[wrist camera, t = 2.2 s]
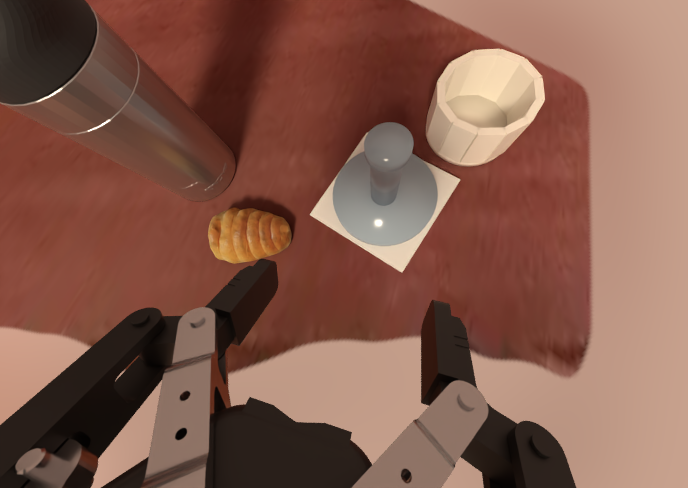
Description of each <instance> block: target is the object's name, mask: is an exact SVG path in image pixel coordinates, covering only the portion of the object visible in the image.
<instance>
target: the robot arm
mask: <svg viewBox="0 0 688 488" xmlns="http://www.w3.org/2000/svg"><path fill="white" fill-rule="evenodd" d="M0 103H1V104H3V105H5V106H7V107H9V108H11V109H13V110H15V111H17V112H19V113H21V114H22V115H24V116H26V117H28V118H30V119H32V120H34V121H36V122H38V123H40V124H42V125H44V126H46V127H48V128H50V129H52V130H54V131H56V132H58V133H60V134H62V135H64V136H66V137H68V138H70V139H72V140H73V141H75V142H77V143H79V144H81V145H83V146H85V147H87V148H89V149H91V150H93V151H95V152H97V153H99V154H101V155H103V156H104V157H106V158H108V159H110V160H112V161H114V162H116V163H118V164H120V165H122V166H124V167H126V168H128V169H130V170H132V171H134V172H136V173H137V174H139V175H141V176H143V177H145V178H147V179H149V180H151V181H153V182H155V183H157V184H159V185H161V186H162V187H164V188H166V189H168V190H170V191H172V192H174V193H176V194H178V195H180V196H182V197H184V198H186V199H189V200H191V201H206V200H209V199H212V198H214V197H216V196H218V195H219V194H220V193H222V192H223V191H224V190H225V189H226V188H227V187H228V185H229V184H230V182H231V180H232V178H233V176H234V173H235V167H236V164H235V157H234V154H233V152H232V151H231V149H230V148H229V147H228V146H227V145H226V144H225V143H224V142H223V141H222V140H221V139H220V138H219V137H218V136H217V135H216V134H215V133H214V131H213V130H212V129H211V128H210V127H209V126H208V125H207V124H206V123H205V122H204V121H203V120H202V119H201V118H200V117H199V116H198V115H197V114H196V113H195V112H194V111H193V110H192V109H191V108H190V107H189V106H188V105H187V104H186V103H185V102H184V101H183V100H182V99H181V98H180V97H179V96H178V95H177V94H176V93H175V92H174V91H173V89H172V88H171V87H170V86H169V85H168V84H167V83H166V82H165V81H164V80H163V79H162V78H161V77H160V76H159V75H158V74H157V73H156V72H155V71H154V70H153V69H152V68H151V67H150V66H149V65H148V64H147V63H146V62H145V61H144V60H143V59H142V58H141V57H140V56H139V55H138V54H137V53H136V52H135V51H134V50H133V49H132V48H131V47H130V46H129V45H128V44H127V43H126V42H125V41H124V40H123V39H122V38H121V37H120V36H119V35H118V34H117V33H116V32H115V31H114V30H113V29H112V28H111V27H110V26H109V25H108V24H107V23H106V21H105V20H104V19H103V18H102V17H101V16H100V15H99V14H98V13H97V12H96V11H95V10H94V9H93V8H92V7H91V6H89V4H88V3H87V2H86V1H85V0H0ZM277 288H278V276H277V265H276V262H274V261H270V260H266V259H260V260H258V262H257V263H256V264H255V265H254V266H248V267H246V268H244V269H243V270H241V271H239V272H238V273H237V275H236V276H235V277H234V278H233V279H232V280H231V281H230V282H229V283H228V285H226V286H225V287H224V288H223V289H222V290H221V291H220V292H219V293H218V294H217V295H216V296H215V297H214V298H213V299H212V300H211V301H210V303H209V304H208V305H207V306H206V307H201V308H196V309H193V310H191V311H189V312H187V313H186V314H185V315H184V316H162V314H161V312H160V310H158V309H156V308H144V309H140V310H138V311H135V312H134V313H132V314H130V315H129V316H127V317H126V318H125V319H124V320H123V321H122V322H120V323H119V324H118V325H117V326H116V327H115V328H113V329H112V330H111V331H110V332H109V333H108V334H106V335H105V336H104V337H103V338H102V339H101V340H99V341H98V342H97V343H96V344H95V345H93V346H92V347H91V348H90V349H89V350H88V351H86V352H85V353H84V354H83V355H82V356H81V357H79V358H78V359H77V360H76V361H75V362H74V363H72V364H71V365H70V366H69V367H68V368H67V369H66V370H64V371H63V372H62V373H61V374H60V375H59V376H57V377H56V378H55V379H54V380H53V381H51V382H50V383H49V384H48V385H47V386H46V387H45V388H43V389H42V390H41V391H40V392H39V393H37V394H36V395H35V396H34V397H33V398H32V399H30V400H29V401H28V402H27V403H26V404H25V405H24V406H22V407H21V408H20V409H19V410H17V411H16V412H15V413H14V414H13V415H12V416H10V417H9V418H8V419H7V420H6V421H5V422H4V423H2V424H1V425H0V488H91V486H92V484H93V481H94V475H95V473H96V470H97V467H98V458H99V457H100V456H101V455H102V453H103V452H104V451H105V450H106V448H107V447H108V446H109V445H110V443H111V442H112V441H113V440H114V438H115V437H116V436H117V435H118V433H119V432H120V431H121V430H122V429H123V427H124V426H125V425H126V424H127V422H128V421H129V420H130V418H131V417H132V416H133V415H134V414H135V412H136V411H137V410H138V409H139V408H140V406H141V405H142V404H143V403H144V401H145V400H146V399H147V398H148V396H149V395H150V394H151V393H152V391H153V390H154V389H155V387H156V386H157V385H158V384H159V383H160V381H161V380H162V385H161V391H160V396H159V402H158V408H157V414H156V419H155V425H154V430H153V436H152V442H151V447H150V453H149V457H147V458H146V459H145V460H143V461H141V462H140V463H138V464H137V465H135V466H134V467H132V468H131V469H129V470H128V471H126V472H124V473H123V474H121V475H120V476H118V477H117V478H115V479H114V480H112V481H111V482H109V483H107V484H106V485H104V486H103V487H101V488H441V487H442V486H443V484H444V483H445V481H446V480H447V478H448V477H449V476H450V474H451V472H452V471H453V469H454V467H455V464H456V462H457V460H458V459H459V458H460V457H461V458H463V459H464V460H466V461H467V462H468V463H470V464H471V465H472V466H474V467H475V468H477V469H478V470H479V471H481V472H482V476H483V484H484V488H576V486H575V483H574V480H573V477H572V474H571V471H570V468H569V465H568V462H567V459H566V456H565V454H564V451H563V449H562V447H561V446H560V444H559V443H558V441H557V440H556V439H555V438H554V437H553V436H552V435H551V434H550V433H549V432H548V431H547V430H546V429H545V428H543V427H542V426H540V425H538V424H536V423H534V422H530V421H522V422H520V423H519V424H517V423H515V422H514V421H512V420H510V419H509V418H507V417H506V416H504V415H502V414H501V413H499V412H497V411H496V410H494V409H493V408H492V407H491V406H490V405H489V404H488V403H487V402H486V400H485V398H484V397H483V395H482V394H481V393H480V391H479V390H478V389H477V386H476V383H475V376H474V371H473V365H472V360H471V354H470V350H469V343H468V341H467V340H468V338H467V332H466V328H465V326H464V325H463V323H462V321H461V320H460V318H458V317H454V316H451V310H450V305H449V304H448V303H444V302H440V301H435V300H432V301H431V303H430V306H429V308H428V311H427V313H426V316H425V318H424V321H423V324H422V330H421V403H423V404H426V405H429V407H428V408H427V409H426V410H425V411H424V412H423V414H422V415H421V416H420V417H419V418H418V419H417V420H414V421H413V422H412V423H411V424H410V425H409V426H408V427H407V428H406V429H405V430H404V431H403V432H402V434H401V435H400V436H399V437H398V438H397V439H396V440H395V441H394V442H393V443H392V444H391V445H390V446H389V448H388V449H387V450H386V451H385V452H384V453H383V454H382V455H381V456H380V457H379V459H378V460H377V461H376V462H375V463H374V464H373V465H372V464H371V462H370V461H369V459H368V457H367V456H366V455H365V453H364V452H363V451H362V450H361V449H360V448H359V447H358V446H357V445H356V444H355V443H353V442H352V441H351V440H350V439H351V433H352V432H349V431H347V430H344V429H341V428H338V427H335V426H332V425H329V424H326V423H301V422H295V421H293V420H292V419H291V418H289V417H288V416H287V415H285V414H284V413H283V412H282V411H280V410H279V409H278V408H276V407H275V406H274V405H271V404H268V403H265V402H262V401H259V400H257V399H254V398H251V397H250V398H249V399H248V401H247V403H246V405H236V406H233V407H231V403H230V396H229V390H228V362H227V348H228V347H229V346H230V344H235V345H238V346H240V344H241V343H242V341H243V340H244V338H245V337H246V335H247V334H248V333H249V331H250V330H251V328H252V327H253V325H254V324H255V322H256V321H257V320H258V318H259V317H260V315H261V314H262V312H263V311H264V309H265V308H266V307H267V305H268V304H269V302H270V301H271V299H272V298H273V296H274V295H275V293H276V291H277ZM137 356H139V357H138V358H137V359H136V360H135V361H134V362H133V363H132V365H131V366H130V367H129V368H128V369H127V370H126V371H125V372H124V373H123V374H122V375H121V376H120V377H119V378H118V379H117V380H116V378H117V377H118V376H119V374H120V373H121V372H122V371H123V370H124V369H125V368H126V367H127V366H128V365H129V364H130V363H131V362H132V361H133V360H134V359H135V358H136V357H137ZM115 380H116V381H115Z"/></svg>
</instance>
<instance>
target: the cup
mask: <svg viewBox="0 0 688 488" xmlns="http://www.w3.org/2000/svg"><path fill="white" fill-rule="evenodd" d="M524 59H525V58H524V57H522V56H519V55H516V54H514V53H511V52H508V51H506V50H503V49H501V50H500V49H485V50H474V51H471V52H469V53H467V54H465V55H463V56H461V57H459V58H457V59H455V60H453V61H451V63H449V65H448V66H447V68H446V69H445V71H444V72H443V74H442V75H441V76H440V78H439V79H438V81H437V84H436V88H435V91H434V94H433V98H432V101H431V105H430V108H429V111H428V115H427V123H426V130H425V131H426V138H427V141H428V144H429V146H430V147H431V149H432V150H433V151H434V153H435V154H437V155H438V156H439V157H440V158H441V159H443V160H445V161H447V162H449V163H451V164H454V165H458V166H467V167H470V166H479V165H482V164H486V163H488V162H490V161H492V160H494V159H495V158H497V157H498V156H499V155H500V154H502V153H504V152H505V151H506V149H507V148H508V147H509V146H510V145H511V144H512V143H513V142H514V141H515V140H516V138H517V137H518V136H519V135H520V134H521V133H522V132H523V131H524V130H525V129H526V128H527V126H528V125H529V124H530V123H531V122H532V121H533V119H534V118H535V116H536V114H537V113H538V111H539V109H540V108H541V106H542V104H543V103H544V100H545V96H544V87H543V78H541V77H542V76H541V75H540V74H539V72H538V71H537V70H536V69H535V68H534V67H533V66H532V64H531V63H530V62H529V61H528V60H527V59H525V60H524Z"/></svg>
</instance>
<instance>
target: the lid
mask: <svg viewBox="0 0 688 488" xmlns="http://www.w3.org/2000/svg"><path fill="white" fill-rule="evenodd" d="M413 145H414V142H413V137H412V135H411V133H410V131H409V130H408V129H407V128H406V127H404V126H403V125H401V124H398V123H394V122H386V123H382V124H379V125H377V126H375V127H374V128H372V129H371V130H370V131H369V132H368V134H367V135H366V138H365V141H364V151H363V152H361V153H359V154H358V155H356V156H354V157H353V158H352V159H350V160H349V161H348V162H347V163H346V164H345V165H344V167H343V168H342V169H341V171H340V172H339V174H338V176H337V178H336V180H335V184H334V187H333V205H334V209H335V212H336V214H337V217H338V219H339V221H340V223H341V224H342V226H343V227H344V228H345V229H346V231H347V232H348V233H350V234H351V235H352V236H353V237H355V238H356V239H358V240H360V241H362V242H364V243H367V244H370V245H375V246H393V245H398V244H401V243H404V242H406V241H408V240H410V239H412V238H413V237H415V236H416V235H417V234H419V233H420V232H421V231H422V230H423V229H424V228H425V226H426V225H427V224H428V222H429V221H430V219H431V218H432V216H433V214H434V211H435V209H436V205H437V199H438V191H437V184H436V181H435V178H434V175H433V174H432V172H431V170H430V169H429V167H428V166H427V165H426V164H425V163H424V162H423V161H422V160H421V159H420V158H419V157H417V156H416V155H414V154H413V153H412V150H413Z"/></svg>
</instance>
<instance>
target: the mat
mask: <svg viewBox="0 0 688 488" xmlns="http://www.w3.org/2000/svg"><path fill="white" fill-rule="evenodd" d="M367 134H368V132H367V133H366V134H365V136H364V137H363V139H362V140H361V142H360V143H359V144H358V146H357V147H356V149H355V150H354V152H353V153H352V155H351V156H350V157H349V159H348V160H347V162H348V161H349V160H350V159H352V158H353V157H354V156H356V155H358V154H359V153H361V152H363V151H364V141H365V138H366V135H367ZM422 161H423V160H422ZM347 162H346V163H347ZM423 162H424V163H425V164H426V165H427V166H428V167H429V169H430V170H431V172H432V174H433V175H434V178H435V181H436V184H437V191H438V199H437V205H436V209H435V211H434V214H433V216H432V218H431V219H430V221H429V222H428V224H427V225H426V226H425V228H424V229H423V230H422V231H421V232H420V233H419V234H417V235H416V236H415V237H413V238H412V239H410V240H408V241H406V242H404V243H401V244H398V245H393V246H375V245H370V244H367V243H364V242H362V241H360V240H358V239H356V238H355V237H353V236H352V235H351V234H350V233H348V232H347V231H346V229H345V228H344V227H343V226H342V224H341V223H340V221H339V219H338V217H337V214H336V212H335V209H334V205H333V187H334V184H335V180H336V178H337V176H338V175H337V176H336V178H335V179H334V180H333V182H332V183H331V185H330V186H329V188H328V189H327V191H326V192H325V193H324V195H323V196H322V198H321V199H320V201H319V202H318V203H317V205H316V206H315V208H314V209H313V211H312V212H311V214H310V215H311V216H312V217H314V218H315V219H317V220H319V221H320V222H322V223H323V224H325V225H327V226H328V227H330V228H331V229H333V230H335V231H336V232H338V233H339V234H341V235H343V236H344V237H346V238H347V239H349V240H351V241H352V242H354V243H355V244H357V245H358V246H360V247H362V248H363V249H365V250H366V251H368V252H370V253H371V254H373V255H374V256H376V257H378V258H379V259H381V260H382V261H384V262H386V263H387V264H389V265H390V266H392V267H394V268H395V269H397V270H398V271H400V272H403V270H404V269H405V267H406V266H407V264H408V262H409V261H410V259H411V258H412V256H413V254H414V253H415V251H416V250H417V248H418V246H419V245H420V243H421V242H422V240H423V238H424V237H425V235H426V234H427V232H428V231H429V229H430V227H431V226H432V224H433V223H434V221H435V219H436V218H437V216H438V215H439V213H440V211H441V210H442V208H443V207H444V205H445V203H446V202H447V200H448V199H449V197H450V195H451V194H452V192H453V191H454V189H455V188H456V186H457V184H458V183H459V181H460V179H458V178H457V177H455V176H453V175H451V174H449V173H447V172H445V171H443V170H441V169H439V168H437V167H435V166H433V165H431V164H429V163H427V162H425V161H423ZM346 163H345V164H346ZM343 167H344V166H343ZM343 167H342V168H343ZM340 171H341V170H340ZM338 174H339V173H338Z"/></svg>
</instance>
